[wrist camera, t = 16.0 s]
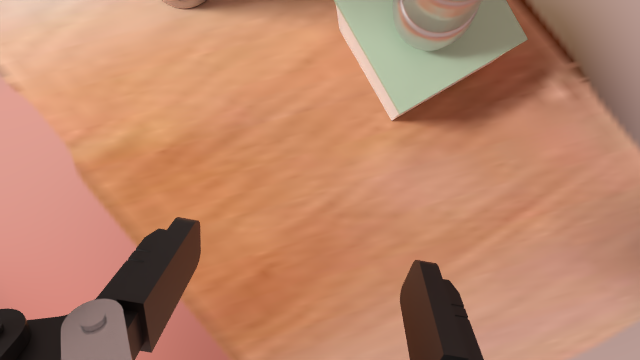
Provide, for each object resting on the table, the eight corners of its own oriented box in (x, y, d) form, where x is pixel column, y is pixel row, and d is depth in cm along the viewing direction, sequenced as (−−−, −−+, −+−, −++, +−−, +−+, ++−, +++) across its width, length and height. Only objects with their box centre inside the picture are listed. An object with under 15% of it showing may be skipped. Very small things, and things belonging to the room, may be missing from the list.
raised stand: (338, 29, 37) (333, -4, 29) (439, -36, 35) (462, -90, 27) (391, 122, 37) (400, 113, 29) (494, 61, 36) (533, 36, 28)
